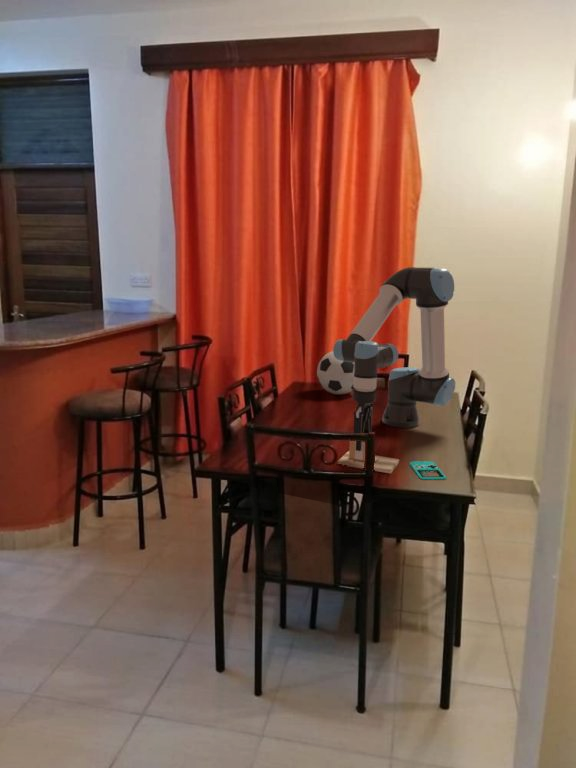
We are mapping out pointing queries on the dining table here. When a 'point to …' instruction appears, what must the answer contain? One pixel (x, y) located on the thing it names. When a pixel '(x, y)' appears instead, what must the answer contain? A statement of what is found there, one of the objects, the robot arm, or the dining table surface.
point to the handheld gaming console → (427, 466)
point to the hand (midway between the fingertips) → (361, 456)
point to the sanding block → (352, 452)
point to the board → (380, 463)
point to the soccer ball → (335, 374)
